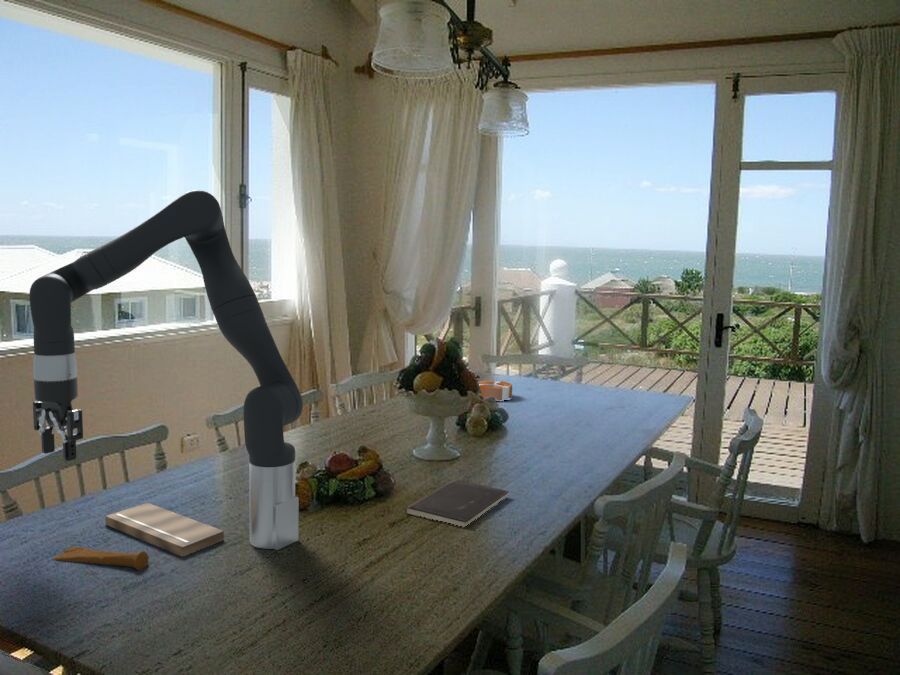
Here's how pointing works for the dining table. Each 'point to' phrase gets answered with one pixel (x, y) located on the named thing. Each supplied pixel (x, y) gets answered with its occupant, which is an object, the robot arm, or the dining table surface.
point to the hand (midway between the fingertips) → (59, 456)
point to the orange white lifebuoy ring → (496, 389)
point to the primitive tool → (104, 557)
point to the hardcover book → (457, 502)
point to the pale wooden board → (165, 529)
